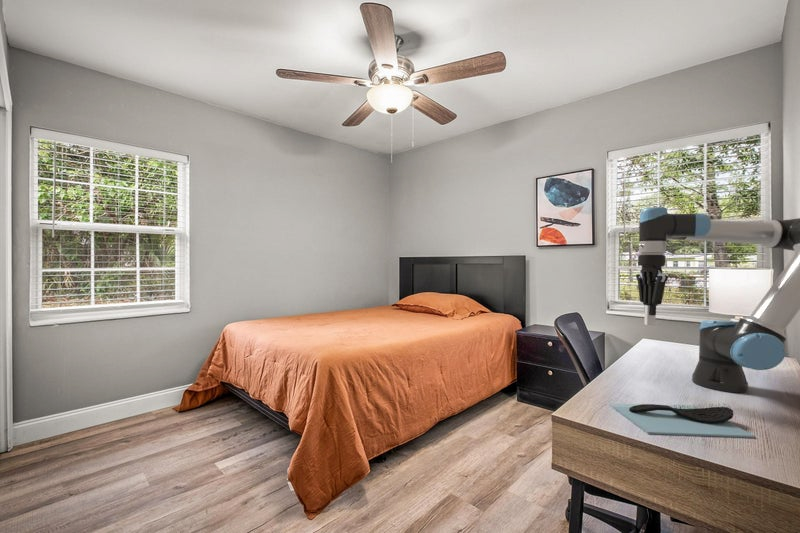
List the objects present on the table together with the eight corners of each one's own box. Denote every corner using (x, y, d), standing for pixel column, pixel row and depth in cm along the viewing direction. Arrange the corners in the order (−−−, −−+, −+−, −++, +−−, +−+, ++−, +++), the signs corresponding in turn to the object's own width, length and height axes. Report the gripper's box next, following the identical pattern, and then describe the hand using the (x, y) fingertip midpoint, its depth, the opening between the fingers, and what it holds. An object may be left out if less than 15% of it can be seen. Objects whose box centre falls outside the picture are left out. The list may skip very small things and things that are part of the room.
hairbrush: (623, 396, 110) (721, 400, 105) (624, 408, 110) (721, 413, 105) (635, 407, 102) (741, 411, 97) (636, 420, 102) (742, 425, 97)
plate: (694, 407, 112) (694, 404, 112) (755, 439, 92) (755, 435, 92) (606, 404, 113) (606, 401, 113) (647, 435, 93) (647, 431, 93)
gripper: (628, 254, 131) (627, 321, 131) (653, 253, 118) (650, 328, 118) (650, 254, 131) (648, 321, 131) (677, 254, 118) (674, 328, 118)
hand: (649, 324), depth 125 cm, fingers closed
